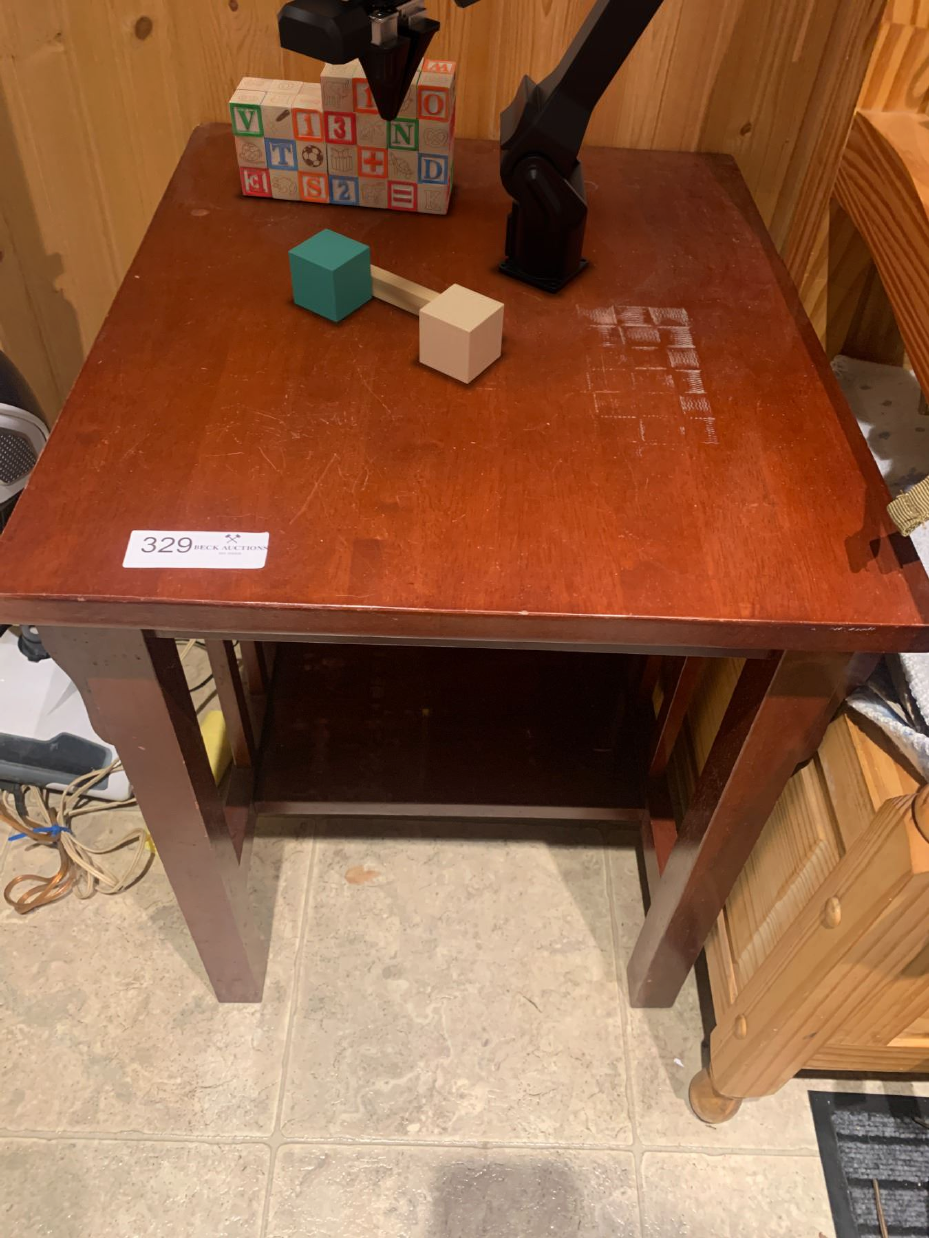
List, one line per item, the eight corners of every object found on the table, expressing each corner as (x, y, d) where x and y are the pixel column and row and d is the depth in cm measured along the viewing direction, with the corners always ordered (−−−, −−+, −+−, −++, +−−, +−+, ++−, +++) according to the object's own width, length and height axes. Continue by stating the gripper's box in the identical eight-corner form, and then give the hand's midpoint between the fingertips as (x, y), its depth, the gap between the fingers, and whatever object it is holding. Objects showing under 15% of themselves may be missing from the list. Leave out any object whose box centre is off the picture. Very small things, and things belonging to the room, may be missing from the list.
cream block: (500, 356, 79) (504, 304, 75) (467, 384, 76) (469, 332, 72) (453, 335, 80) (454, 283, 76) (419, 362, 78) (419, 310, 74)
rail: (498, 339, 80) (499, 319, 79) (488, 347, 79) (489, 327, 78) (339, 270, 86) (338, 250, 85) (329, 277, 86) (327, 257, 84)
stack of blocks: (241, 198, 94) (221, 67, 85) (256, 169, 98) (238, 41, 89) (447, 215, 93) (450, 85, 84) (454, 186, 97) (457, 58, 88)
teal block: (372, 298, 84) (369, 246, 80) (336, 323, 81) (332, 270, 77) (330, 279, 85) (325, 228, 81) (294, 303, 83) (287, 251, 79)
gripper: (375, -154, 73) (382, 61, 85) (206, -107, 63) (240, 129, 75) (490, -128, 69) (480, 94, 81) (330, -73, 59) (345, 170, 71)
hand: (388, 119), depth 77 cm, fingers closed
